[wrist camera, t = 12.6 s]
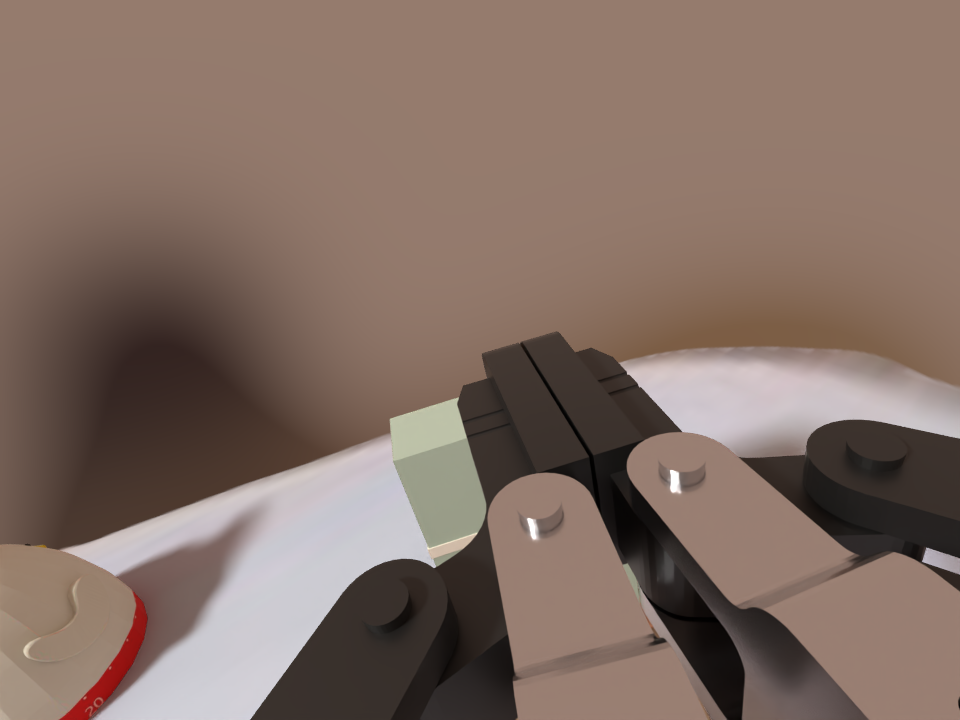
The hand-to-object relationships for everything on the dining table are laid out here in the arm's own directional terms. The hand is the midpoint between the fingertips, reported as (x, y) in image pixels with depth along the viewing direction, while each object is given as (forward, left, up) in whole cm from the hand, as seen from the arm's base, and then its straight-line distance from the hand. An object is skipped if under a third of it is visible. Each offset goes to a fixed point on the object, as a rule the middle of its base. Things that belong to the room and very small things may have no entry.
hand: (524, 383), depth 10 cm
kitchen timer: (-41, +7, -25) cm, 48 cm away
